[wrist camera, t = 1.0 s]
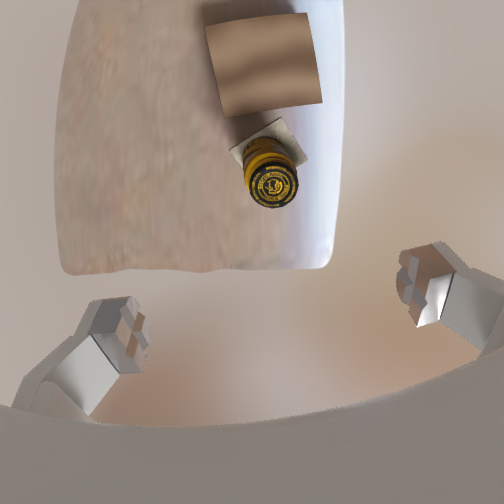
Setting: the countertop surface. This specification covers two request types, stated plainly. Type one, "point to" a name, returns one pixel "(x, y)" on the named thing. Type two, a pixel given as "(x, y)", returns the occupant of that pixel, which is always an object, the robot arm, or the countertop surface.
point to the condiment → (270, 164)
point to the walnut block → (264, 63)
